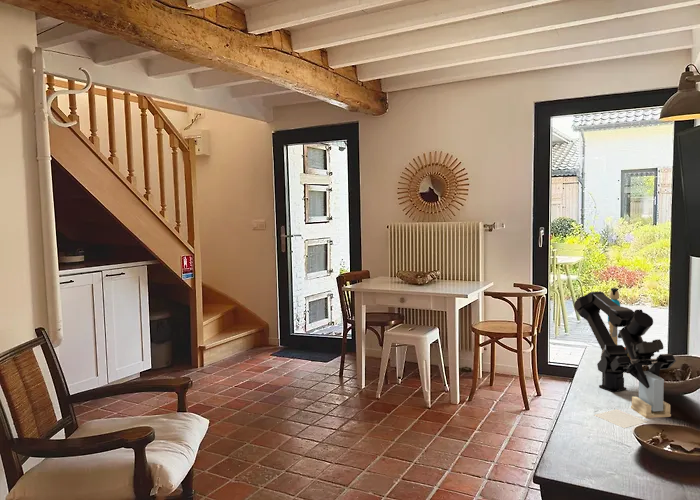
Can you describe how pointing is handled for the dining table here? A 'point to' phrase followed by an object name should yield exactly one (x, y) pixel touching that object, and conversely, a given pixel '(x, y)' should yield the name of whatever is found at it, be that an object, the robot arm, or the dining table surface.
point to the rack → (649, 409)
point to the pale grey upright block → (652, 391)
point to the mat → (620, 418)
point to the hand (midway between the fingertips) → (653, 387)
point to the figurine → (613, 330)
